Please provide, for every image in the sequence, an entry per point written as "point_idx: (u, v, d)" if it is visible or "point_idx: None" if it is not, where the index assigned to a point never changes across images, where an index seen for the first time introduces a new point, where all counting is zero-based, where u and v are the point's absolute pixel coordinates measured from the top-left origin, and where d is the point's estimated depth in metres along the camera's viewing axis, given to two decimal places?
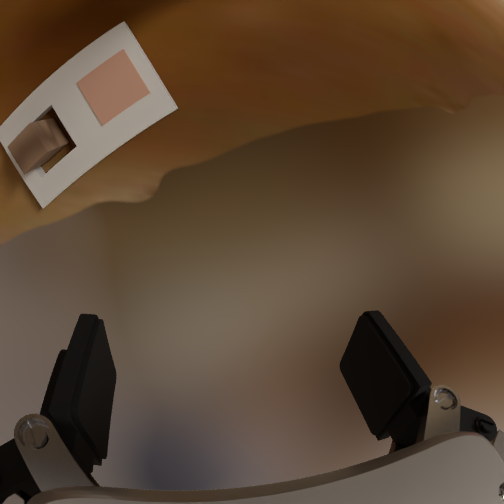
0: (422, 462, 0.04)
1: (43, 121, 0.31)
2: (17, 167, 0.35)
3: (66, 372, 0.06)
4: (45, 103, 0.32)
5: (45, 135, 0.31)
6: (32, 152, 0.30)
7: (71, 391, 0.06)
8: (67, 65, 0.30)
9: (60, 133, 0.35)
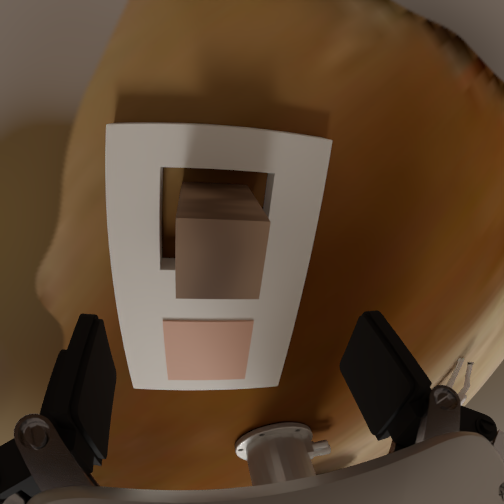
0: (422, 462, 0.04)
1: None
2: (226, 130, 0.19)
3: (66, 372, 0.06)
4: (272, 264, 0.25)
5: None
6: (201, 270, 0.17)
7: (72, 390, 0.06)
8: (289, 319, 0.28)
9: None
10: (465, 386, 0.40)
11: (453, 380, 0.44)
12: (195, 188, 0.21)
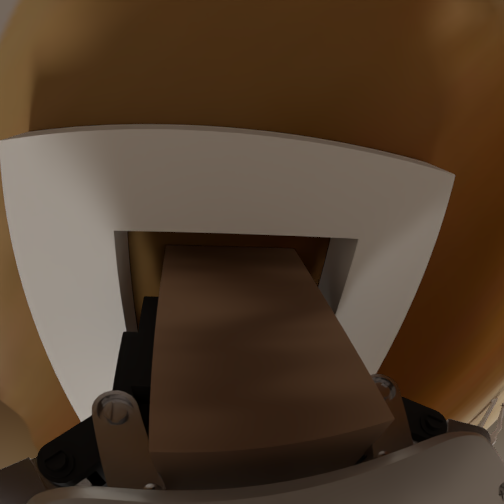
0: (422, 462, 0.04)
1: None
2: (264, 146, 0.08)
3: (142, 348, 0.08)
4: None
5: None
6: None
7: None
8: None
9: None
10: (497, 429, 0.30)
11: (484, 421, 0.34)
12: (193, 272, 0.10)
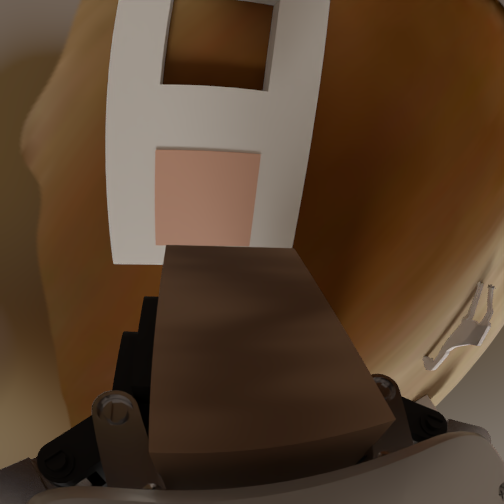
0: (422, 462, 0.04)
1: None
2: None
3: (142, 348, 0.08)
4: (280, 84, 0.20)
5: None
6: None
7: (151, 364, 0.07)
8: (301, 159, 0.24)
9: None
10: (488, 311, 0.37)
11: (474, 308, 0.41)
12: (193, 272, 0.10)
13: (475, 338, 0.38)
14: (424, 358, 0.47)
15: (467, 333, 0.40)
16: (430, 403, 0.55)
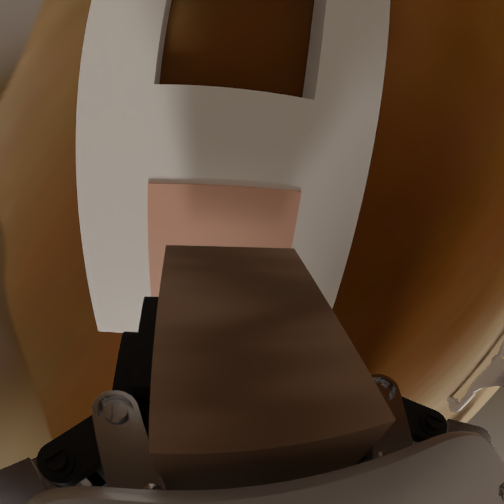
0: (422, 462, 0.04)
1: None
2: None
3: (142, 348, 0.08)
4: (331, 90, 0.14)
5: None
6: None
7: None
8: (354, 198, 0.17)
9: None
10: None
11: None
12: (193, 272, 0.10)
13: None
14: (449, 399, 0.39)
15: (497, 374, 0.32)
16: None
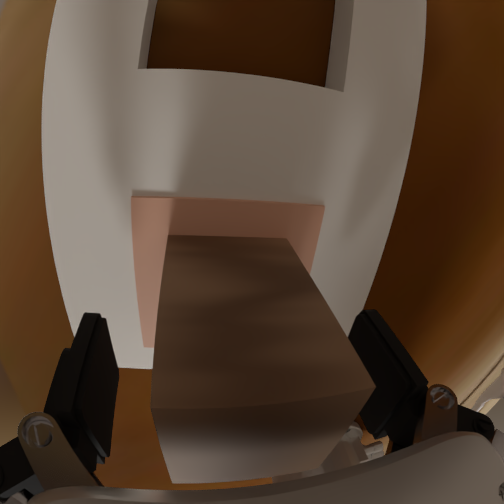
0: (422, 462, 0.04)
1: None
2: None
3: (70, 370, 0.06)
4: (363, 81, 0.11)
5: None
6: (218, 462, 0.07)
7: (75, 389, 0.06)
8: (385, 213, 0.14)
9: None
10: None
11: None
12: (193, 258, 0.11)
13: None
14: None
15: None
16: None
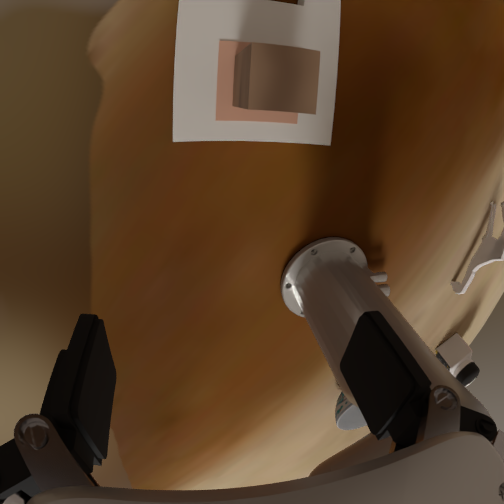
0: (422, 462, 0.04)
1: None
2: None
3: (66, 372, 0.06)
4: (312, 1, 0.22)
5: None
6: (270, 84, 0.19)
7: (71, 391, 0.06)
8: (333, 55, 0.25)
9: None
10: None
11: (491, 227, 0.42)
12: None
13: (497, 252, 0.39)
14: (452, 282, 0.48)
15: (489, 249, 0.41)
16: (461, 340, 0.56)
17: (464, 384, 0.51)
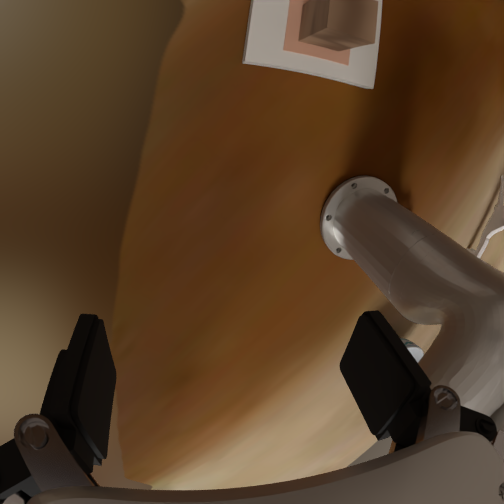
0: (422, 462, 0.04)
1: (353, 46, 0.25)
2: None
3: (66, 372, 0.06)
4: None
5: (341, 38, 0.23)
6: (343, 14, 0.20)
7: (72, 391, 0.06)
8: (377, 19, 0.27)
9: (318, 43, 0.27)
10: None
11: (502, 198, 0.44)
12: None
13: None
14: (467, 249, 0.49)
15: (501, 216, 0.42)
16: None
17: None
